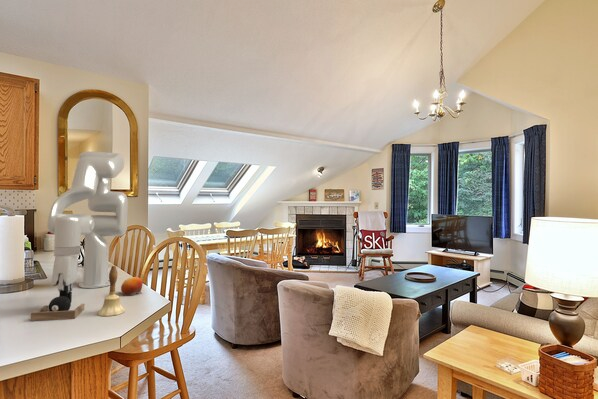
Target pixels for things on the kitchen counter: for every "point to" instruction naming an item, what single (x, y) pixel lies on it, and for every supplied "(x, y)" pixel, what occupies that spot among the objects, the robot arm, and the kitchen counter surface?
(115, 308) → the hand bell
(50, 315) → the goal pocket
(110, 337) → the kitchen counter surface
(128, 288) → the fruit
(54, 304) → the billiard ball
